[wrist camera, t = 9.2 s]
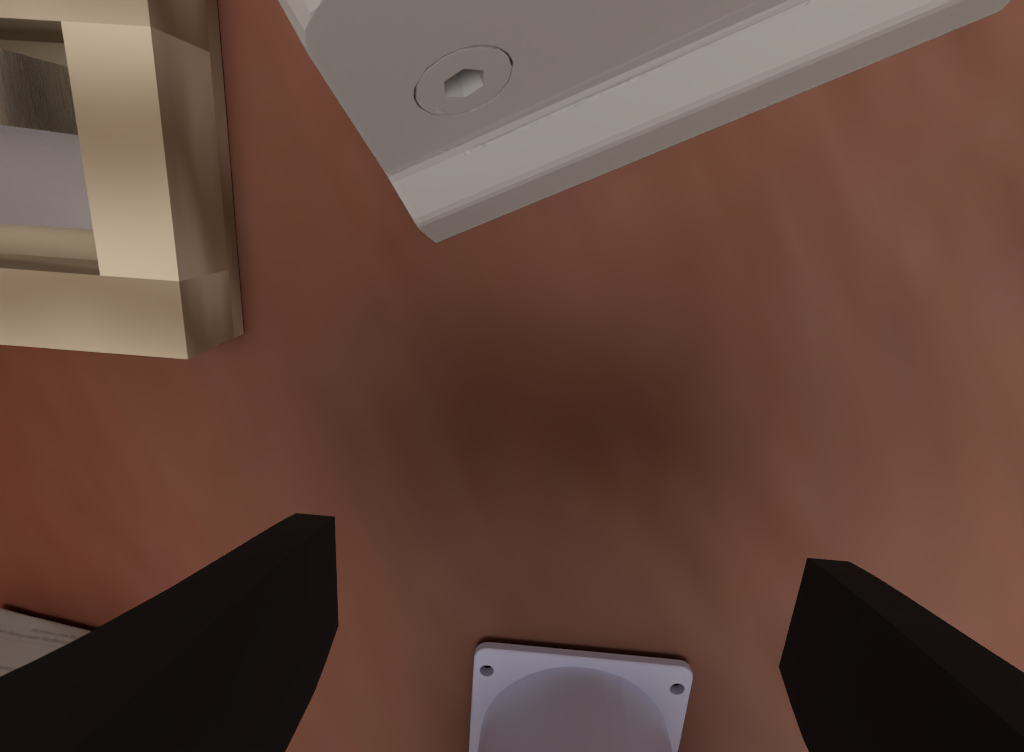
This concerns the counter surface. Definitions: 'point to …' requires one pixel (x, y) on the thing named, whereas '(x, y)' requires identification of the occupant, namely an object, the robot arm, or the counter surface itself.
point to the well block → (130, 185)
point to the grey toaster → (577, 81)
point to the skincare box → (30, 638)
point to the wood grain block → (39, 146)
